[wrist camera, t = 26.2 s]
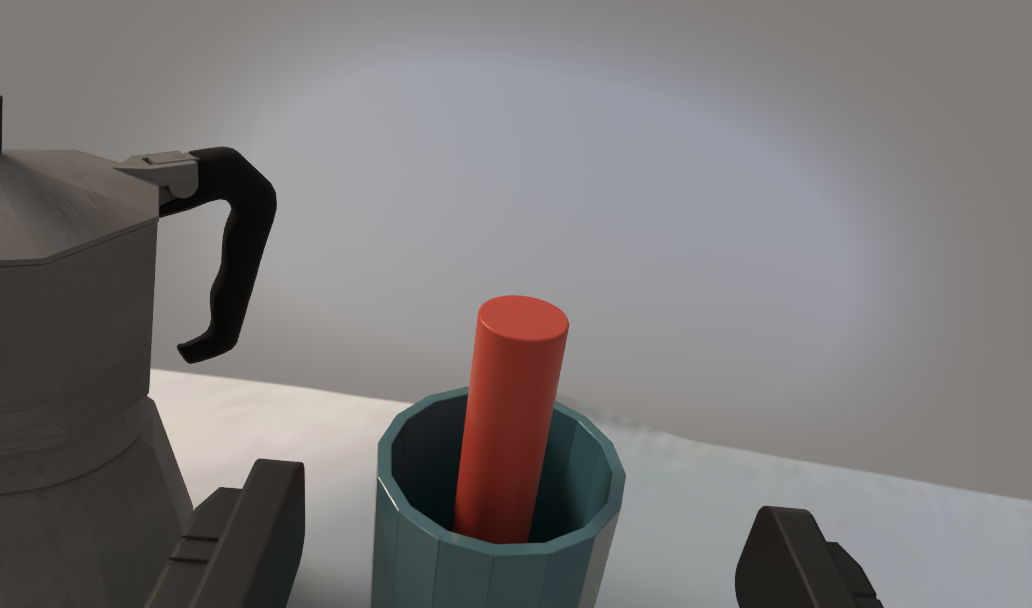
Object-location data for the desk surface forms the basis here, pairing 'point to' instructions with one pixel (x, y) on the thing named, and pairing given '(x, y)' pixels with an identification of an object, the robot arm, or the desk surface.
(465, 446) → the red cylindrical rod
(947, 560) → the desk surface
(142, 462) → the coffeepot
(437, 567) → the cup
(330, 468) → the desk surface
